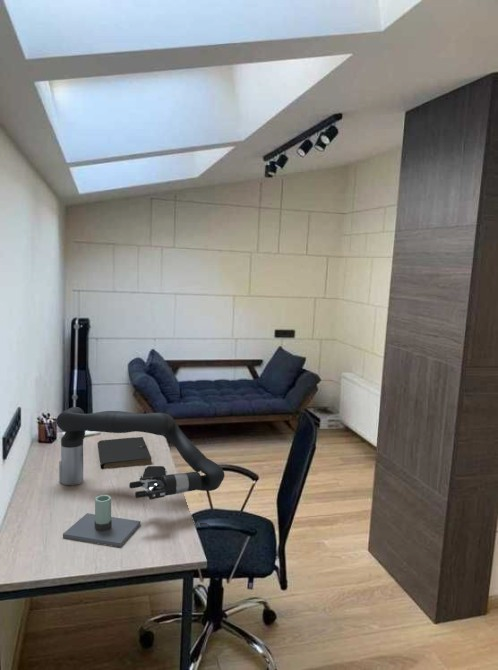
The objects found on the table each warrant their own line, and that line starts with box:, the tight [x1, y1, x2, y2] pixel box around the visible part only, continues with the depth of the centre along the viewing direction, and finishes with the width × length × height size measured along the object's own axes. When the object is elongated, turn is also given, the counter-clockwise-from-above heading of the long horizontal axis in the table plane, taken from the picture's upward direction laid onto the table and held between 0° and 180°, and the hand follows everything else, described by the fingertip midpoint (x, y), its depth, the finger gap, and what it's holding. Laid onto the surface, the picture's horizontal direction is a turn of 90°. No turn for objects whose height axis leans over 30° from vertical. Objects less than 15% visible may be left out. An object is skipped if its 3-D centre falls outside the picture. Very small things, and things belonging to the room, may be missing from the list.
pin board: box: [62, 512, 141, 548], centre depth 181 cm, size 22×16×6 cm
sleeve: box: [94, 494, 112, 531], centre depth 181 cm, size 6×6×11 cm
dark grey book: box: [97, 436, 152, 470], centre depth 257 cm, size 33×4×24 cm
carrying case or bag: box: [140, 465, 166, 480], centre depth 231 cm, size 11×3×15 cm
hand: (132, 490), depth 185 cm, fingers open, 8 cm apart
